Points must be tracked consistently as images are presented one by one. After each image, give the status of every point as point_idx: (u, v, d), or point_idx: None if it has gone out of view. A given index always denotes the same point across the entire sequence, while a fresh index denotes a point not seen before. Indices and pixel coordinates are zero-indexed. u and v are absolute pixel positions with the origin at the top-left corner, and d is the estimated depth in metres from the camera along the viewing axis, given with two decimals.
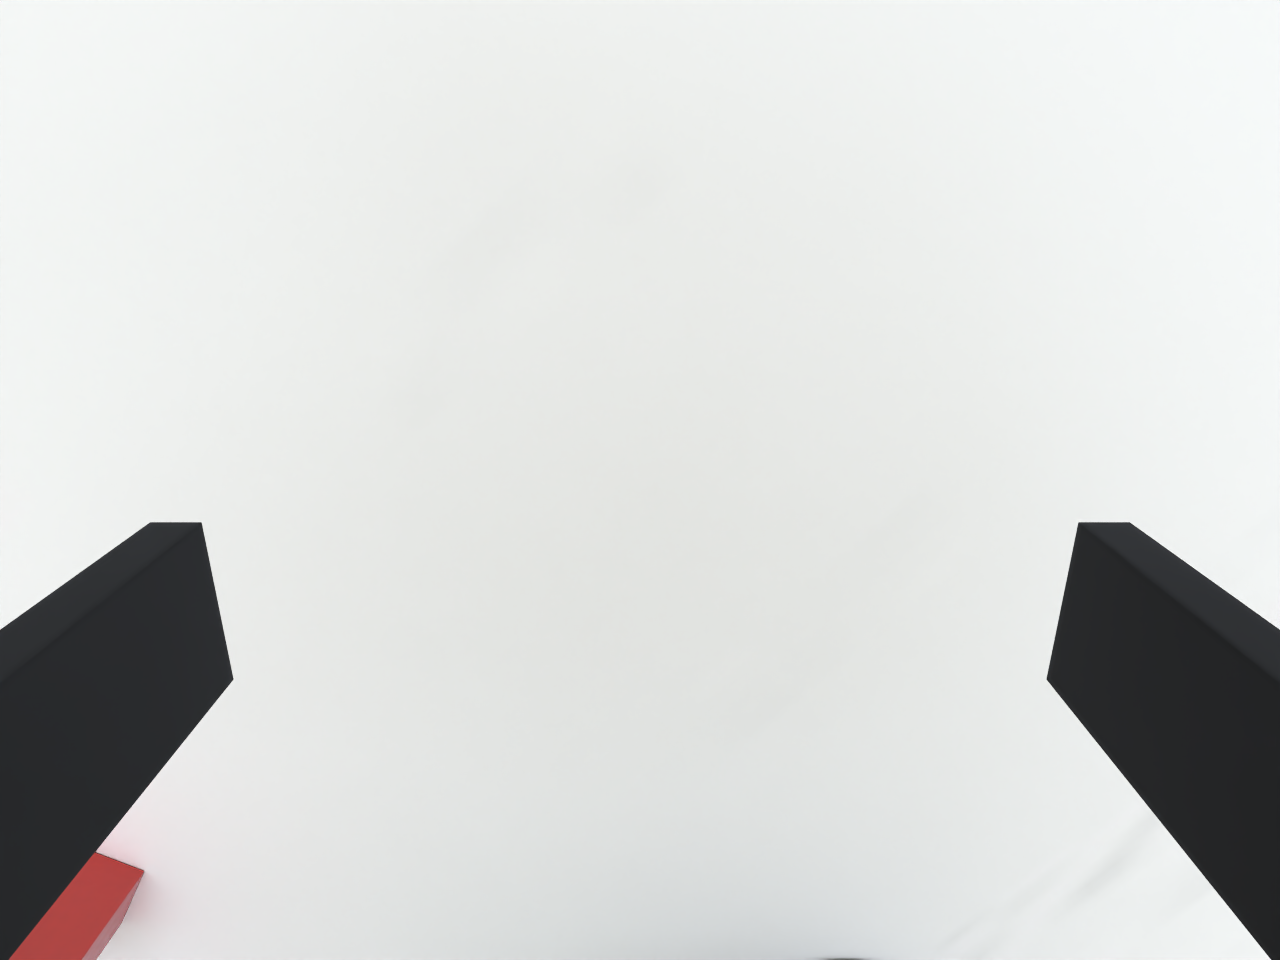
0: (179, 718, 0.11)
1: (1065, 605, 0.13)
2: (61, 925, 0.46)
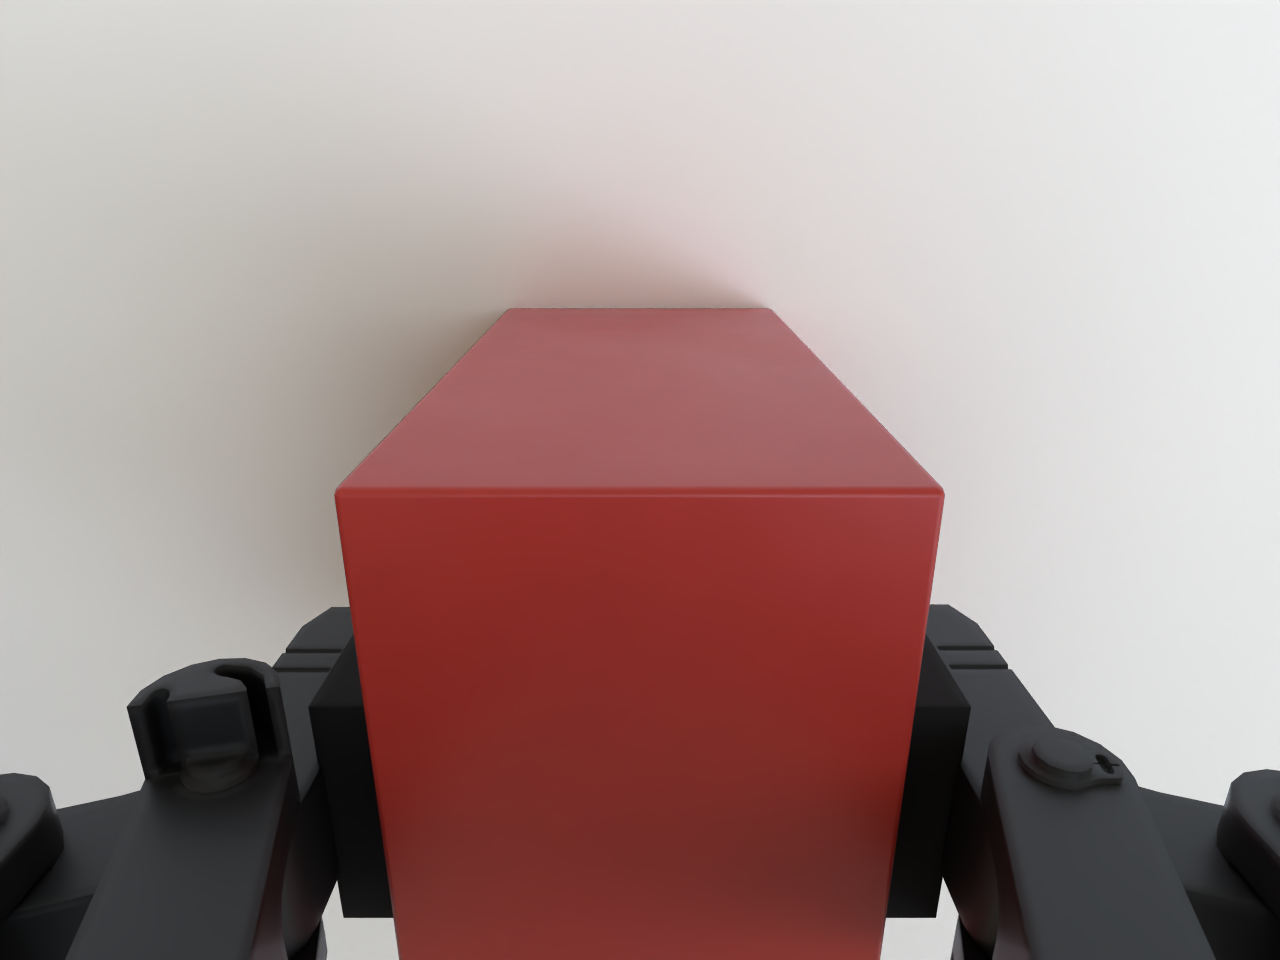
0: None
1: None
2: None
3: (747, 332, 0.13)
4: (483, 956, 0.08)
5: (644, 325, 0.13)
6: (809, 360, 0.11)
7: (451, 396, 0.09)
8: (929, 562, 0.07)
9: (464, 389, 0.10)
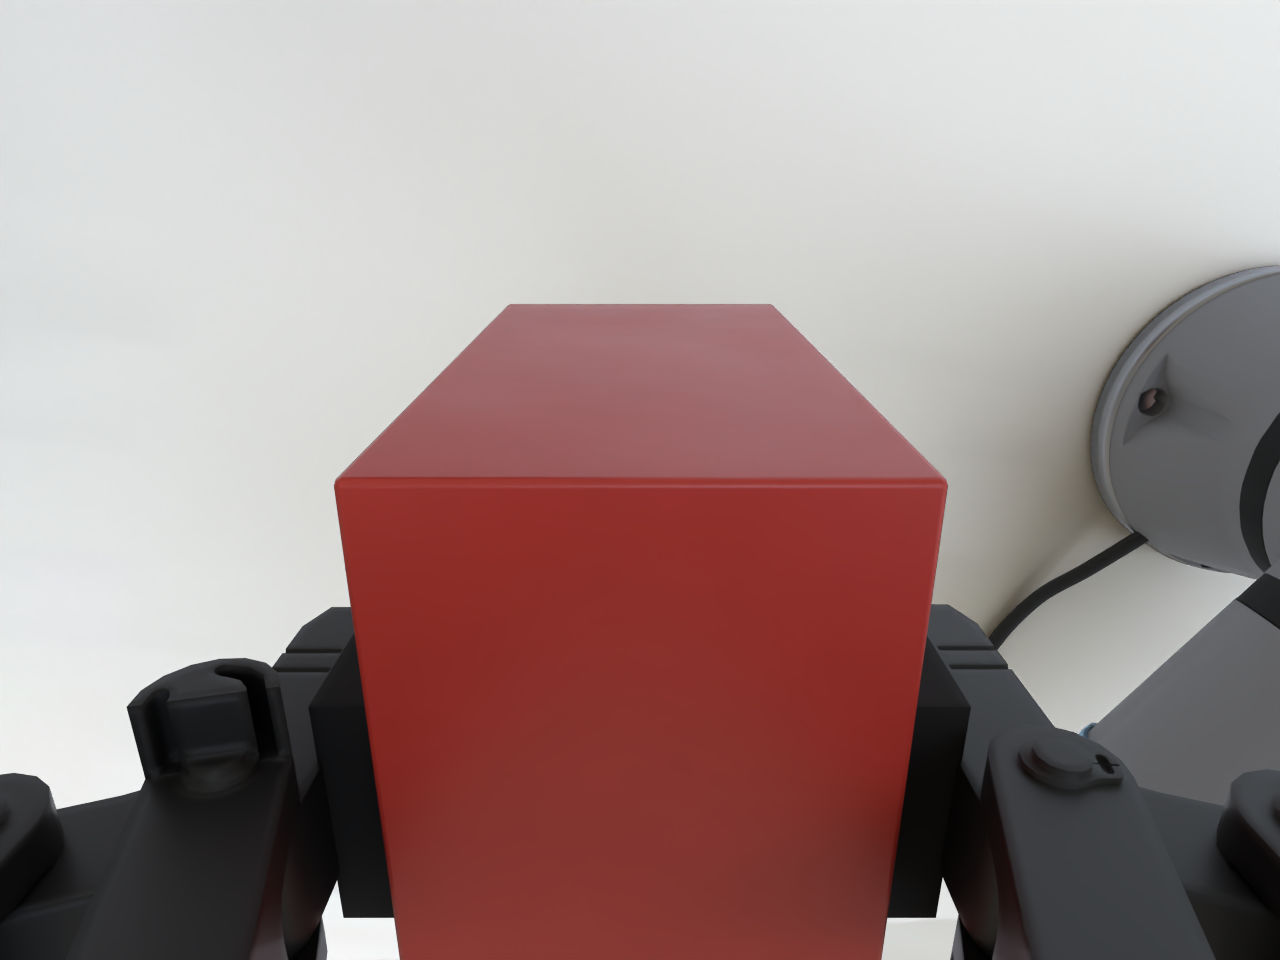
0: None
1: None
2: None
3: (748, 328, 0.13)
4: (484, 950, 0.08)
5: (645, 320, 0.13)
6: (810, 354, 0.11)
7: (451, 389, 0.09)
8: (931, 553, 0.07)
9: (464, 382, 0.09)
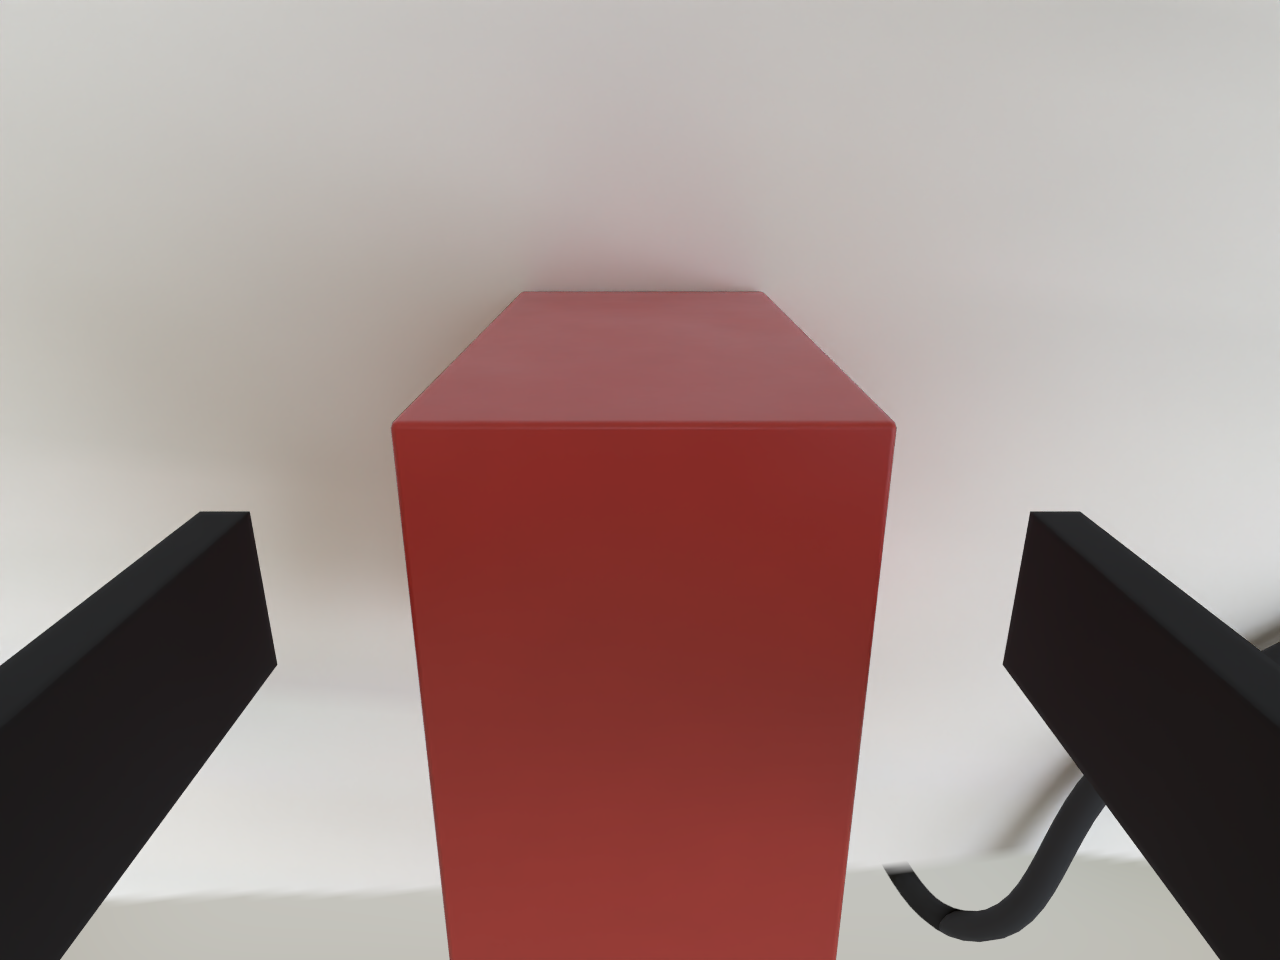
0: (230, 700, 0.12)
1: (1019, 592, 0.13)
2: None
3: (739, 311, 0.14)
4: (509, 835, 0.10)
5: (646, 305, 0.15)
6: (793, 332, 0.12)
7: (479, 358, 0.11)
8: (883, 484, 0.08)
9: (489, 353, 0.11)
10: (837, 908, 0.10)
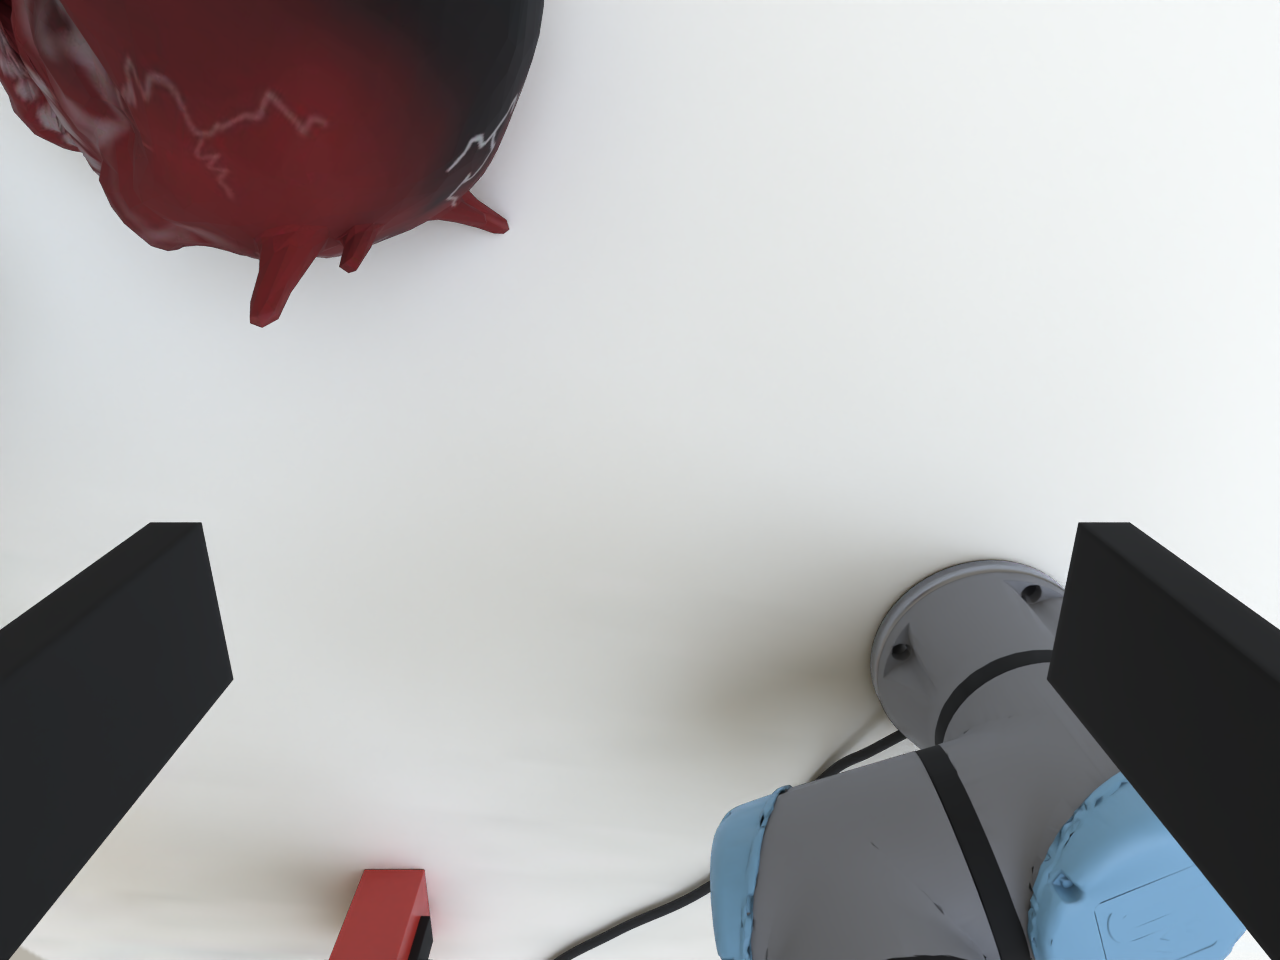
0: (178, 718, 0.11)
1: (1064, 605, 0.13)
2: None
3: (406, 894, 0.64)
4: None
5: (388, 887, 0.65)
6: (407, 915, 0.63)
7: (341, 937, 0.61)
8: None
9: (344, 933, 0.61)
10: None
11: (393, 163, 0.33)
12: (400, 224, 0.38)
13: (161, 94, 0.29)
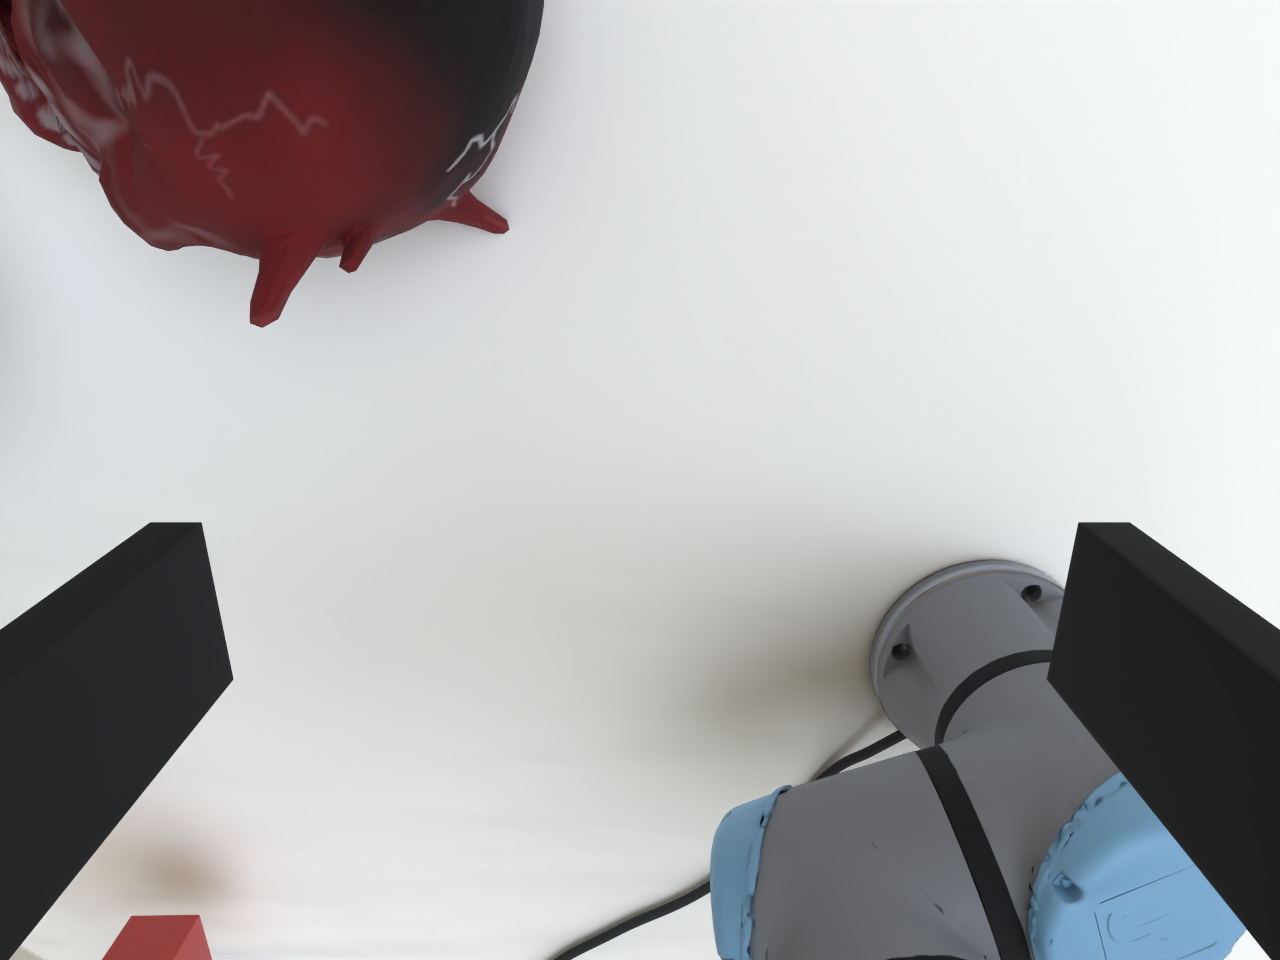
0: (178, 718, 0.11)
1: (1064, 605, 0.13)
2: None
3: (169, 945, 0.56)
4: None
5: (152, 937, 0.57)
6: None
7: None
8: None
9: None
10: None
11: (393, 163, 0.33)
12: (400, 224, 0.38)
13: (161, 94, 0.29)
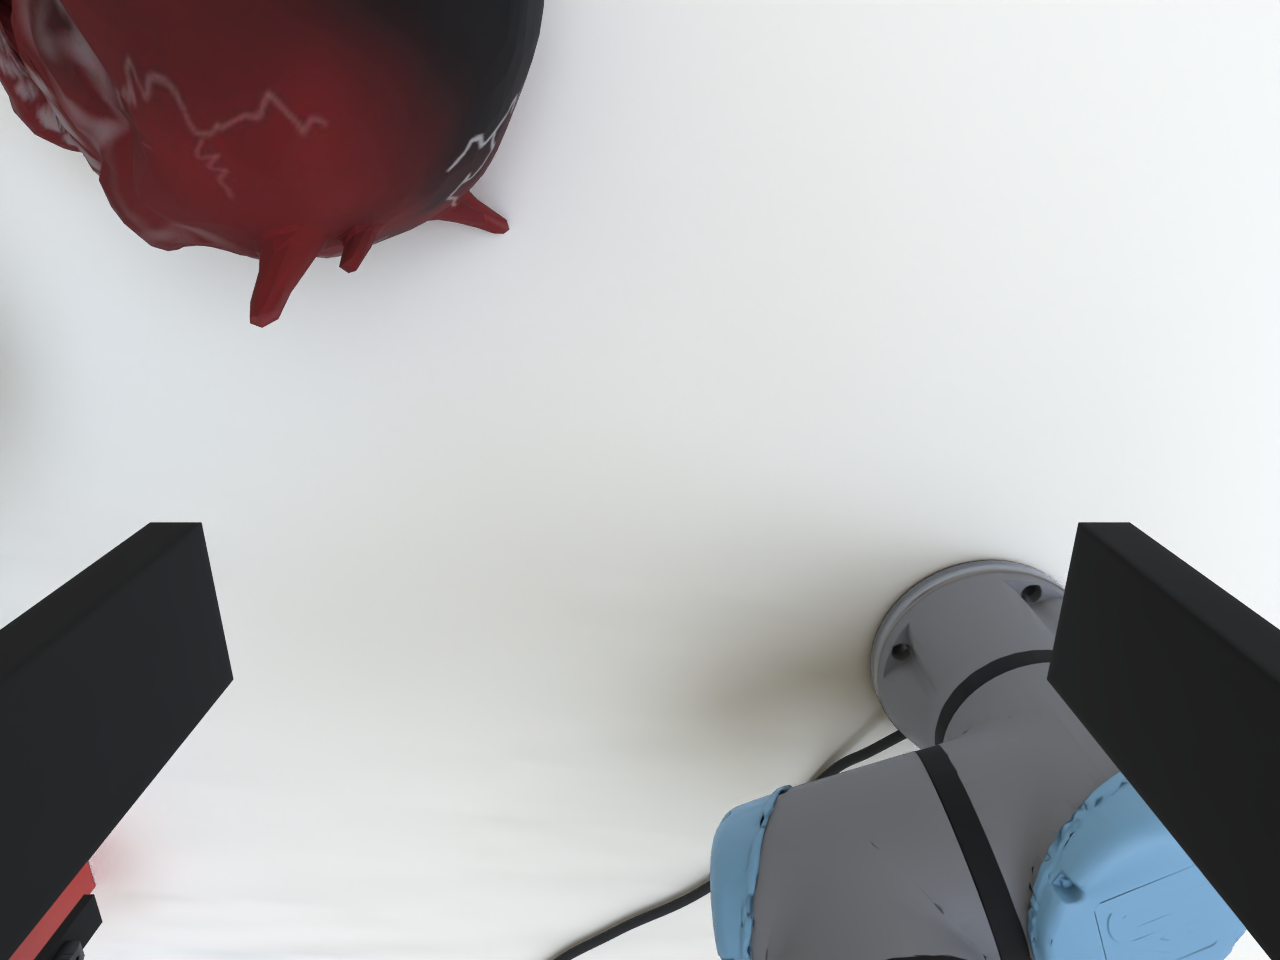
0: (178, 718, 0.11)
1: (1064, 605, 0.13)
2: (50, 917, 0.62)
3: None
4: None
5: None
6: None
7: None
8: None
9: None
10: None
11: (393, 163, 0.33)
12: (400, 224, 0.38)
13: (161, 94, 0.29)
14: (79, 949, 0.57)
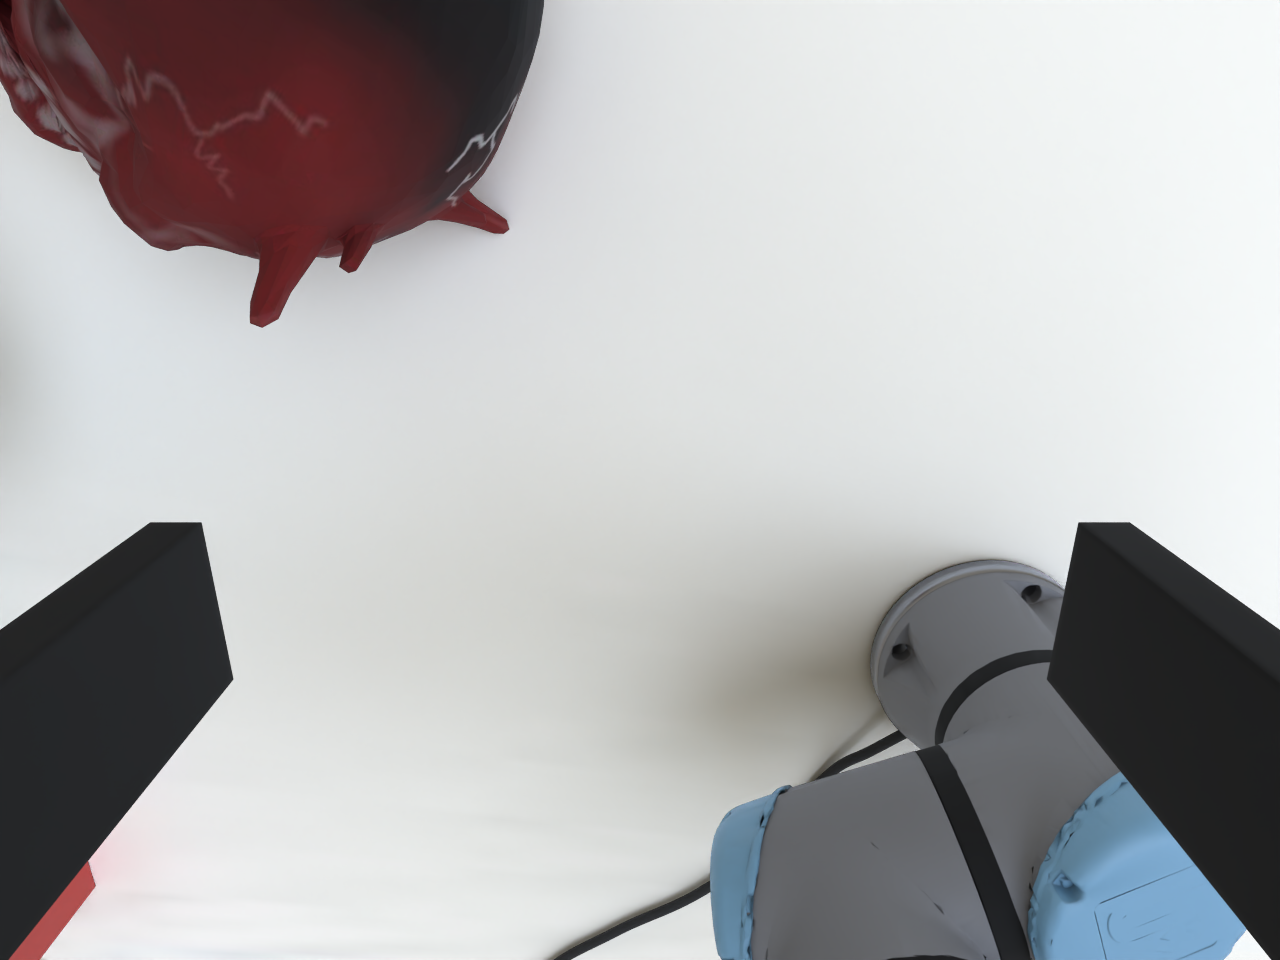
0: (178, 718, 0.11)
1: (1064, 605, 0.13)
2: (50, 917, 0.62)
3: None
4: None
5: None
6: None
7: None
8: None
9: None
10: None
11: (393, 163, 0.33)
12: (400, 224, 0.38)
13: (161, 94, 0.29)
14: None
